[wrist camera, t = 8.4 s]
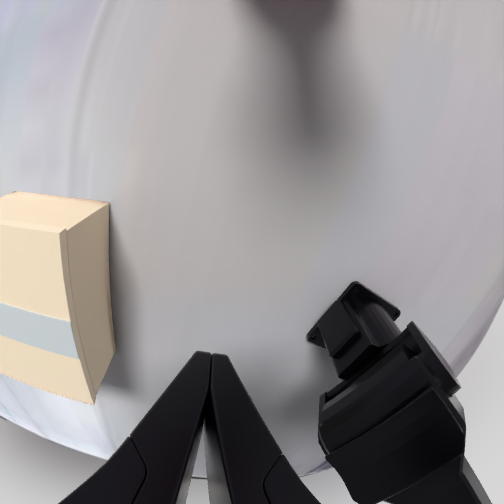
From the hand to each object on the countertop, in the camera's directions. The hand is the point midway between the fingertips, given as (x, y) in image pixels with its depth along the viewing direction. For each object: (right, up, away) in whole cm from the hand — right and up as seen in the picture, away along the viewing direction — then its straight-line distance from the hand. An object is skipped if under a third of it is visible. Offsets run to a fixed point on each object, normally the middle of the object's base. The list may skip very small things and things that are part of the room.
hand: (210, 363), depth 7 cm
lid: (-15, -2, +7) cm, 17 cm away
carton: (-15, +1, +13) cm, 20 cm away
